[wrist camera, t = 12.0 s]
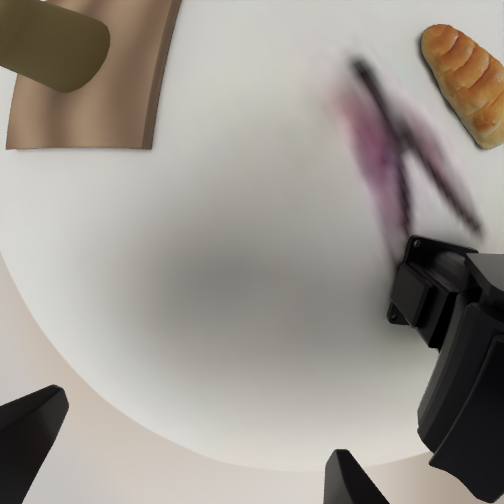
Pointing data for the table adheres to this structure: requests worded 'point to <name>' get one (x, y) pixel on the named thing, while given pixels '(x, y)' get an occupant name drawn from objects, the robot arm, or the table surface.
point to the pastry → (468, 82)
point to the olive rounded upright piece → (51, 43)
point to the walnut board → (102, 84)
